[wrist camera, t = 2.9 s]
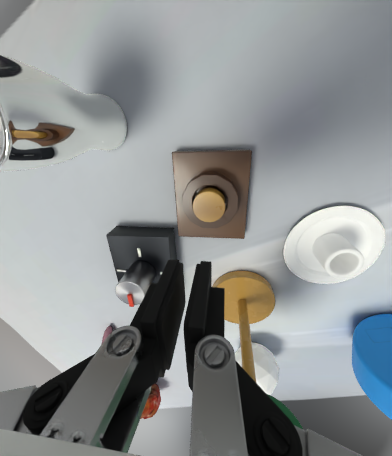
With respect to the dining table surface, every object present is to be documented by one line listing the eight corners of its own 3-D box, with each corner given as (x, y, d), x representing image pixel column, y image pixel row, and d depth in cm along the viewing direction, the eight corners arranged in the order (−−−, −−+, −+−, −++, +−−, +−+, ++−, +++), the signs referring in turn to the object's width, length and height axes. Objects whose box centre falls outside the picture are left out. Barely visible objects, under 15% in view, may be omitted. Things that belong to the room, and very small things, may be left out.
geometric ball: (245, 339, 41) (226, 379, 37) (245, 327, 36) (222, 372, 32) (283, 364, 37) (266, 411, 33) (288, 354, 32) (269, 409, 28)
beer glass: (69, 130, 25) (-113, 128, 12) (88, 74, 22) (-125, -15, 9) (116, 165, 26) (0, 200, 13) (141, 116, 23) (24, 95, 10)
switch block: (175, 151, 24) (167, 153, 21) (250, 149, 23) (254, 152, 20) (180, 230, 29) (175, 242, 26) (243, 233, 28) (245, 245, 25)
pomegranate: (140, 360, 49) (119, 402, 47) (141, 380, 42) (116, 430, 40) (166, 370, 51) (147, 410, 49) (171, 390, 44) (149, 439, 42)
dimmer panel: (116, 225, 30) (105, 235, 27) (174, 227, 29) (168, 238, 26) (130, 286, 35) (122, 299, 33) (179, 290, 34) (175, 304, 31)
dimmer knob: (128, 259, 29) (110, 282, 25) (154, 261, 28) (141, 284, 24) (132, 281, 31) (117, 305, 26) (157, 283, 30) (146, 308, 26)
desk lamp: (211, 268, 31) (186, 498, 12) (277, 272, 30) (375, 540, 10) (211, 313, 36) (192, 537, 16) (268, 318, 34) (326, 570, 15)
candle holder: (404, 224, 24) (437, 242, 20) (340, 291, 30) (356, 314, 26) (315, 189, 24) (332, 200, 20) (266, 263, 29) (272, 283, 26)
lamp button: (194, 187, 23) (191, 191, 21) (225, 187, 22) (225, 191, 21) (195, 216, 24) (193, 222, 23) (224, 216, 24) (224, 222, 22)
